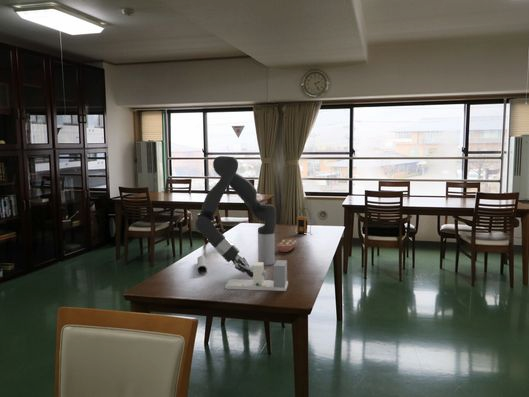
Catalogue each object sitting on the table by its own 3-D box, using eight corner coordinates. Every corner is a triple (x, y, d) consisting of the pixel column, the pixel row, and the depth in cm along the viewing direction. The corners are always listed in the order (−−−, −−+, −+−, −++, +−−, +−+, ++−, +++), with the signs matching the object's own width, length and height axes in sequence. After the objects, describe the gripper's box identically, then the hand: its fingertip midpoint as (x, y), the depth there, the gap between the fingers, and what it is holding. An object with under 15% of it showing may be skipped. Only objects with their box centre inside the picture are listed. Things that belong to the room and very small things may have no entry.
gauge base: (230, 282, 214) (229, 258, 213) (288, 284, 210) (288, 260, 208) (225, 288, 204) (224, 264, 203) (285, 290, 200) (285, 266, 199)
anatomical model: (284, 245, 294) (284, 238, 293) (299, 246, 291) (299, 238, 291) (275, 253, 272) (275, 245, 272) (291, 254, 269) (291, 246, 269)
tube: (195, 256, 251) (195, 267, 226) (204, 253, 251) (205, 263, 227) (198, 265, 251) (198, 277, 227) (207, 261, 252) (208, 273, 227)
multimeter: (315, 233, 335) (315, 206, 333) (309, 235, 326) (309, 208, 324) (298, 231, 343) (298, 205, 340) (292, 233, 334) (292, 207, 332)
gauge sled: (255, 280, 210) (255, 262, 209) (266, 281, 209) (266, 262, 208) (252, 285, 202) (252, 266, 201) (263, 286, 201) (263, 266, 200)
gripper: (229, 247, 200) (256, 274, 200) (235, 241, 213) (261, 267, 212) (218, 258, 201) (244, 285, 201) (225, 251, 214) (250, 277, 214)
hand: (253, 276), depth 207 cm, fingers closed
